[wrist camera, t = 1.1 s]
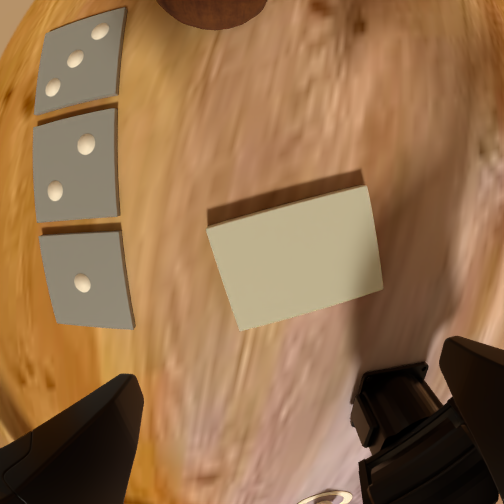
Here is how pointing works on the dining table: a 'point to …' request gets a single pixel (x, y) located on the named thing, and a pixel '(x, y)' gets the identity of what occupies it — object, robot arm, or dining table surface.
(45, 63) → the pad
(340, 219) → the folded napkin
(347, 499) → the teacup and saucer
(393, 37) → the dining table surface
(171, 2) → the wooden figurine
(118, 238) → the pad
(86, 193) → the pad
